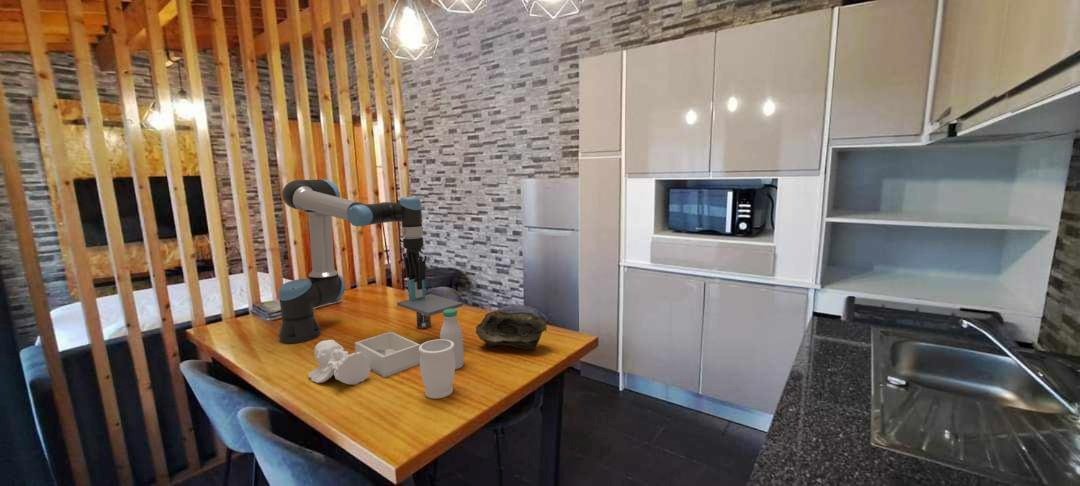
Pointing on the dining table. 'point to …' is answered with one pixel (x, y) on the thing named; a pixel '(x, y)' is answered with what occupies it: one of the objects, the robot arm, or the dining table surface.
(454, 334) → the milk bottle
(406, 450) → the dining table surface
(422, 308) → the lid
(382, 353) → the steel nut
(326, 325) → the dining table surface
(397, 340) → the tub
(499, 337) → the hollow geode rock
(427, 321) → the supplement bottle
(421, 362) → the jar
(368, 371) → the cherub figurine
